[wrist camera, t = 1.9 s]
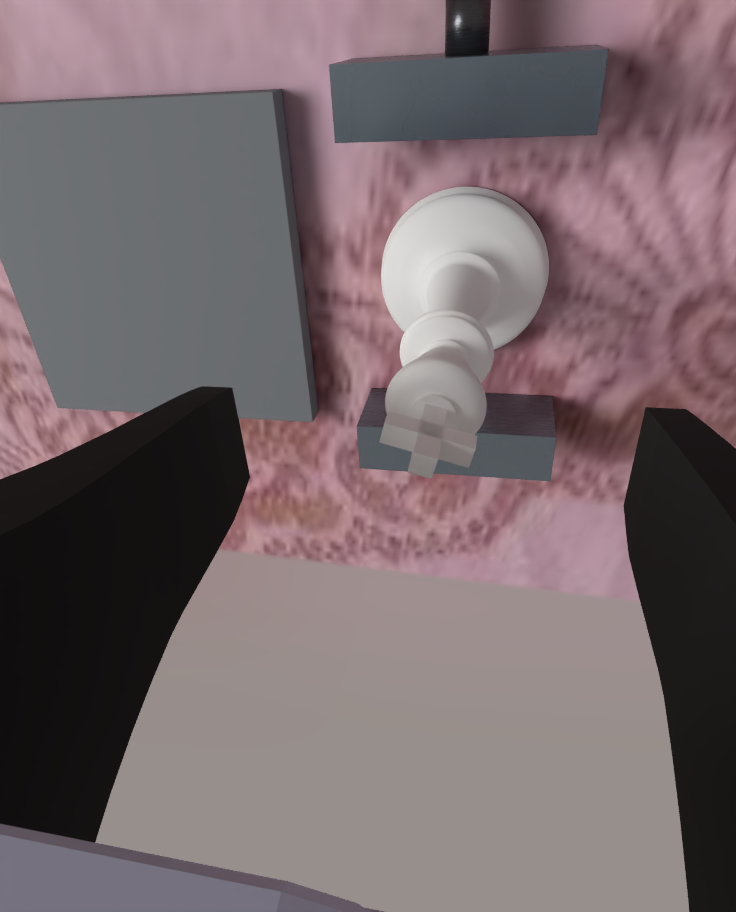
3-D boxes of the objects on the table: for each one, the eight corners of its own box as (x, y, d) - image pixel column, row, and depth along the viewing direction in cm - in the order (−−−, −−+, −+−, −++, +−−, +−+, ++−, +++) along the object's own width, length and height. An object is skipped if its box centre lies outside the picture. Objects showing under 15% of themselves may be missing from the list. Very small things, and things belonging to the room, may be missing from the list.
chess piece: (515, 366, 20) (513, 598, 12) (367, 326, 20) (270, 528, 12) (575, 211, 17) (625, 381, 9) (402, 165, 18) (305, 294, 9)
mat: (281, 88, 17) (272, 91, 16) (318, 410, 23) (312, 422, 22) (-38, 104, 19) (-57, 107, 18) (69, 397, 25) (57, 407, 24)
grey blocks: (609, -63, 14) (624, -76, 12) (547, 437, 21) (550, 481, 19) (346, -40, 15) (320, -49, 13) (374, 427, 23) (359, 467, 21)
